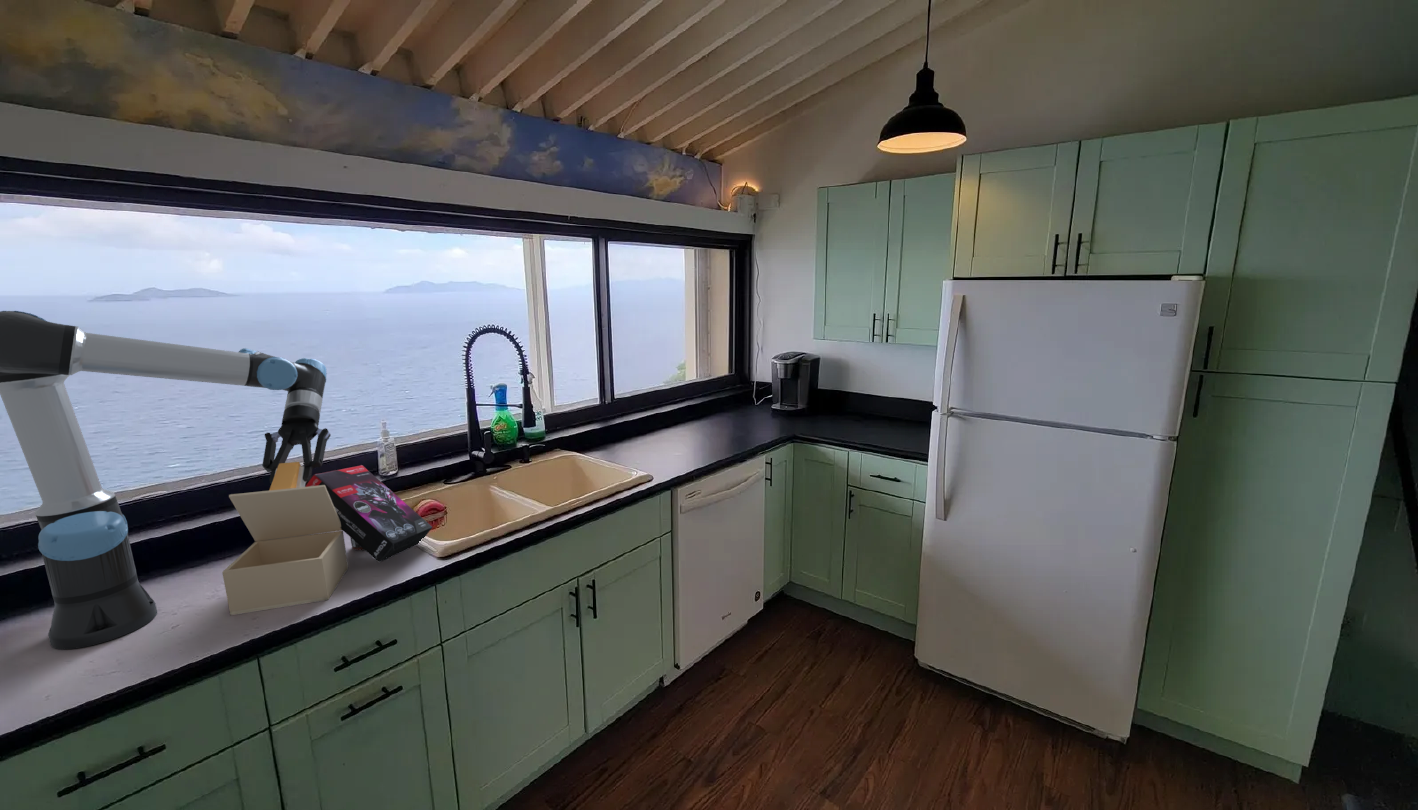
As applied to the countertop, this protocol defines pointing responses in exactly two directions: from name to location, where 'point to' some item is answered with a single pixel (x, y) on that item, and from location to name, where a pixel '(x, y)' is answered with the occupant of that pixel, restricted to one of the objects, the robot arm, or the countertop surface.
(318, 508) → the carton flap
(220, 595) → the countertop surface
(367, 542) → the graphics card box
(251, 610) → the carton
